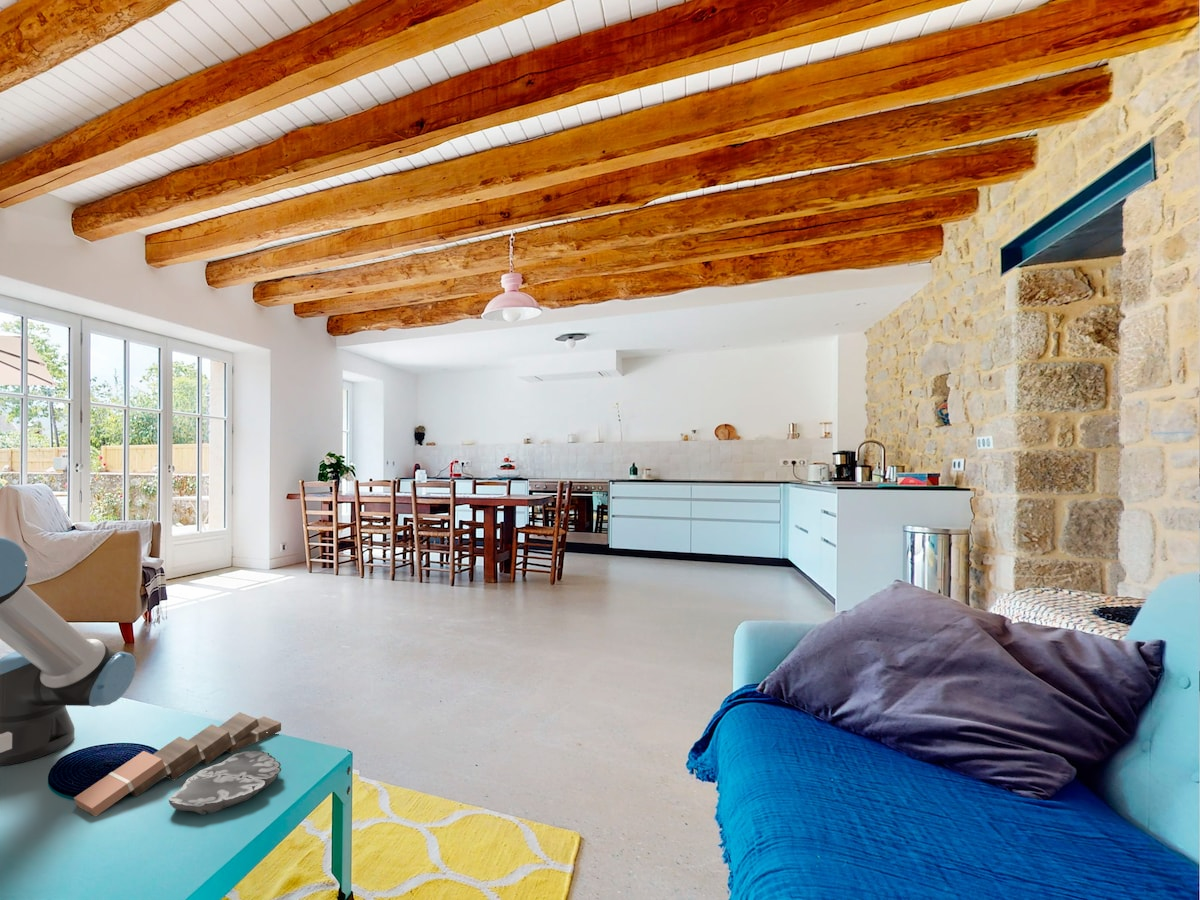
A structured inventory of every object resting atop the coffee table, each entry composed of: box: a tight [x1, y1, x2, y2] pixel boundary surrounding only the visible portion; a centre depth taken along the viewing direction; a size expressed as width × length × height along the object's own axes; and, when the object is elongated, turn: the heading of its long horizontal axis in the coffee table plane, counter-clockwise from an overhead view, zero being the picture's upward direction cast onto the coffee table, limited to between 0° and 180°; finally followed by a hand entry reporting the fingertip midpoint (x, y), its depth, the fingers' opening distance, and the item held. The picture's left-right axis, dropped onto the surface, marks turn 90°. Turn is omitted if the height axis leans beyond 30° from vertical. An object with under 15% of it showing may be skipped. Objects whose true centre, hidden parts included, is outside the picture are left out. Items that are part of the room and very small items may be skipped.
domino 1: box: [73, 750, 165, 817], centre depth 109 cm, size 2×7×12 cm
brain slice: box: [168, 750, 282, 815], centre depth 112 cm, size 20×17×3 cm
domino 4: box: [200, 711, 259, 765], centre depth 127 cm, size 2×7×12 cm
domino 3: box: [165, 723, 231, 781], centre depth 121 cm, size 2×7×12 cm
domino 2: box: [128, 736, 200, 797], centre depth 116 cm, size 2×7×12 cm
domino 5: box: [225, 716, 282, 754], centre depth 133 cm, size 2×7×12 cm
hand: (9, 740), depth 96 cm, fingers closed
